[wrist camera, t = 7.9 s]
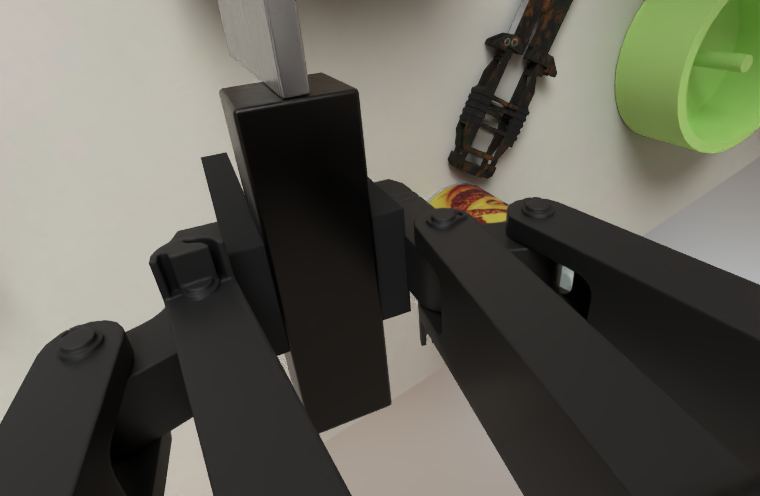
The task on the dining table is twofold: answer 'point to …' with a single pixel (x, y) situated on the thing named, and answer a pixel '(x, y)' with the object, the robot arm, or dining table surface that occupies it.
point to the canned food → (482, 211)
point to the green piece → (692, 72)
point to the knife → (518, 106)
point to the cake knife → (309, 211)
